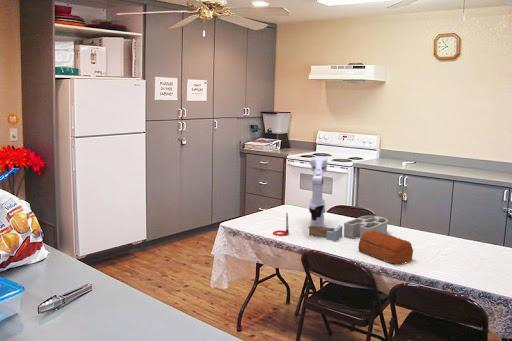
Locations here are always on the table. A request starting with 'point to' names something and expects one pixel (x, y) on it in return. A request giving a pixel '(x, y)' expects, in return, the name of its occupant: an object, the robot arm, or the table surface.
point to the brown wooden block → (319, 231)
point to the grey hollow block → (365, 226)
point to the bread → (386, 247)
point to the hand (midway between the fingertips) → (316, 218)
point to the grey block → (334, 234)
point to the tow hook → (283, 231)
